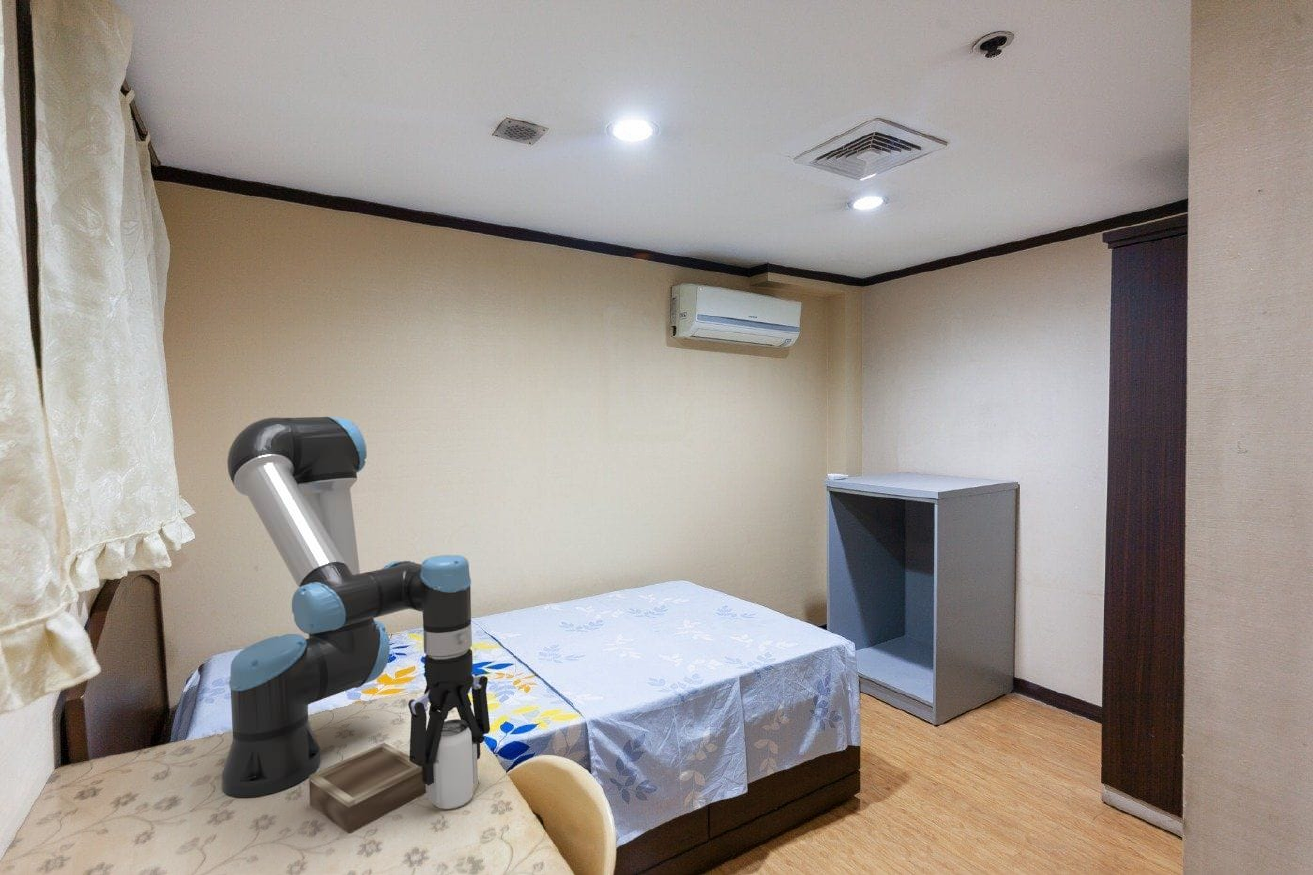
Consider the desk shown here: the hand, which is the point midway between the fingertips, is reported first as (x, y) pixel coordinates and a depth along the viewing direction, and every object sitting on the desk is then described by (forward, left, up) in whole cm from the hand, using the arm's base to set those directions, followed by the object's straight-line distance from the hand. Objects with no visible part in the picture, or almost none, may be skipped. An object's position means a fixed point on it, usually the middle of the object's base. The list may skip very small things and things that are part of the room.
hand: (453, 790), depth 104 cm
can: (0, 0, -2) cm, 2 cm away
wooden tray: (-12, -8, -2) cm, 15 cm away
